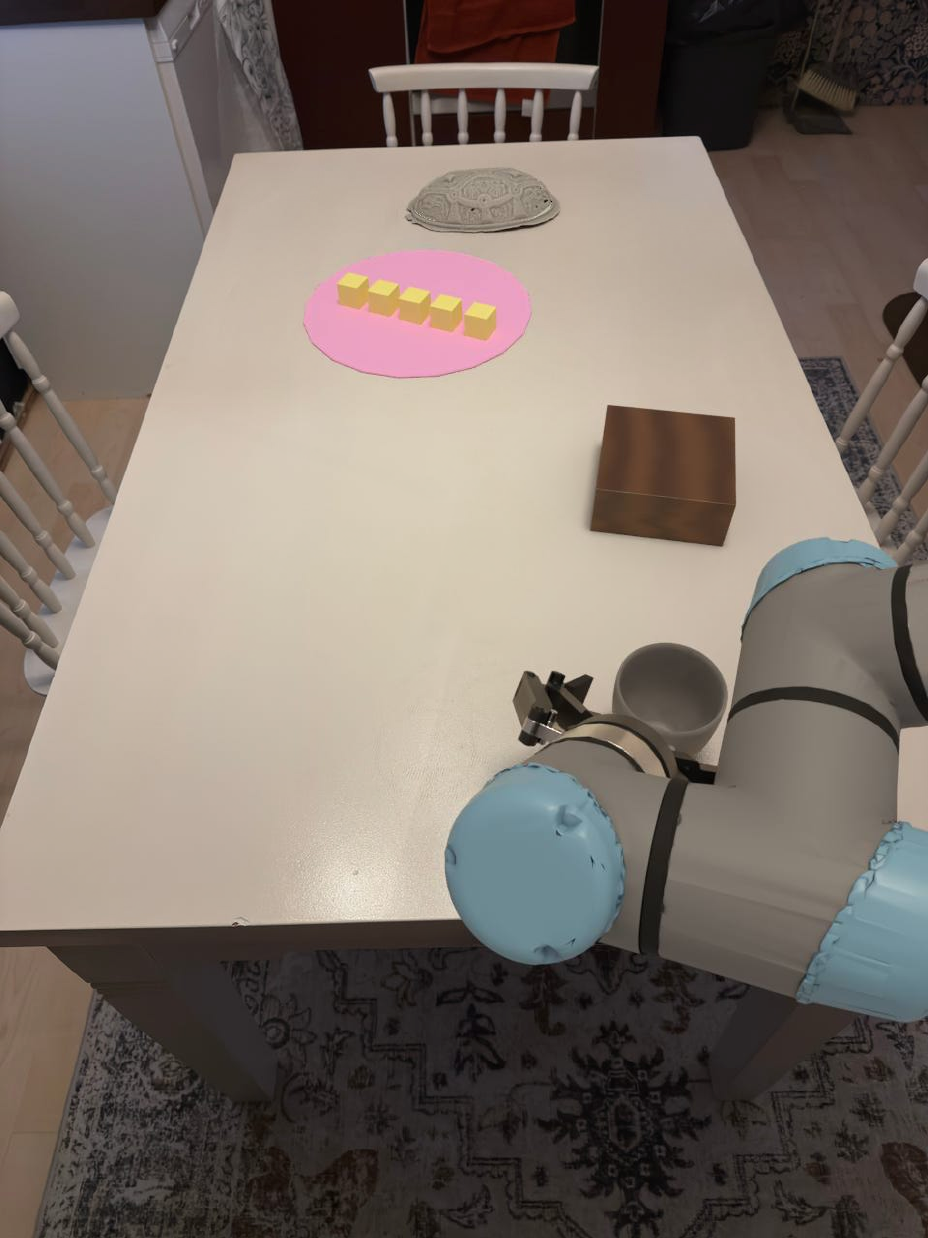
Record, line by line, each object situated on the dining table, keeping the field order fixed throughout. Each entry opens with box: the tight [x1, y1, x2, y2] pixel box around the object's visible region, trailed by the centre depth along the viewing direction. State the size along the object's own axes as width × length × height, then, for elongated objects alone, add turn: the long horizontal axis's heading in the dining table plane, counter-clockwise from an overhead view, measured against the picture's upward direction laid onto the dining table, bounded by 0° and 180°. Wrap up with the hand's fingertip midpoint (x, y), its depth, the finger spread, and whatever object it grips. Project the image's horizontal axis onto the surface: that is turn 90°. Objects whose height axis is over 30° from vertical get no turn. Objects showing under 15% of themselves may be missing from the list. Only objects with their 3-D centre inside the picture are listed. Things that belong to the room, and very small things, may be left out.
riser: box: [589, 404, 737, 547], centre depth 91 cm, size 14×14×6 cm
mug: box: [611, 642, 729, 758], centre depth 69 cm, size 12×9×10 cm
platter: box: [303, 249, 532, 379], centre depth 116 cm, size 32×32×3 cm
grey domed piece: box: [405, 166, 561, 233], centre depth 133 cm, size 16×25×7 cm, turn 92°
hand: (660, 726), depth 67 cm, fingers open, 13 cm apart
